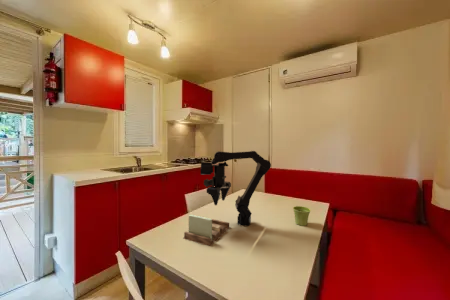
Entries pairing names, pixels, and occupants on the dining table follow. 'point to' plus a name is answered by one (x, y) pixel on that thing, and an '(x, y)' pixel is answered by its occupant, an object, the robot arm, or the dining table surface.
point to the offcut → (216, 228)
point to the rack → (205, 240)
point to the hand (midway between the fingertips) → (219, 202)
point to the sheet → (200, 226)
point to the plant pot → (301, 215)
